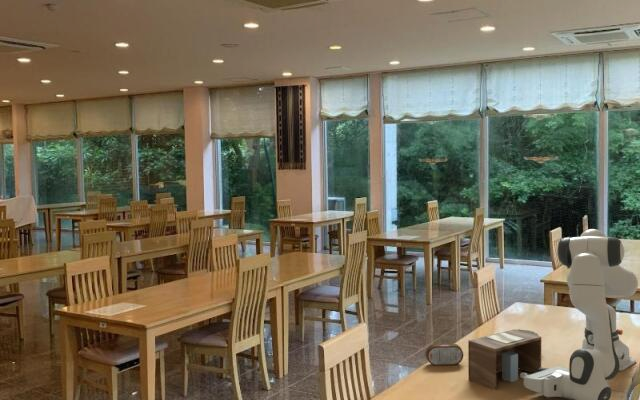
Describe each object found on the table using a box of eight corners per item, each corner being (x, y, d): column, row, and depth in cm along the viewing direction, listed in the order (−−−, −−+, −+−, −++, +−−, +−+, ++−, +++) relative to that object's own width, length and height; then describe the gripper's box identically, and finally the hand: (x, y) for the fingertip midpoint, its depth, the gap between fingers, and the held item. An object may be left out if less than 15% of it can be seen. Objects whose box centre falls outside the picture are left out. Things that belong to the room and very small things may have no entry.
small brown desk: (514, 366, 252) (514, 328, 251) (541, 375, 242) (541, 335, 241) (468, 379, 239) (468, 339, 238) (494, 389, 228) (494, 348, 227)
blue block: (509, 376, 241) (509, 351, 240) (517, 379, 238) (518, 353, 237) (502, 378, 239) (502, 352, 238) (510, 382, 235) (510, 355, 235)
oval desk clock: (462, 362, 258) (462, 342, 257) (464, 365, 255) (464, 344, 254) (425, 364, 257) (425, 343, 257) (427, 366, 254) (426, 346, 254)
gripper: (581, 368, 224) (548, 357, 235) (544, 380, 213) (511, 369, 224) (581, 385, 224) (548, 374, 236) (544, 398, 213) (511, 386, 225)
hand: (530, 371), depth 230 cm, fingers open, 8 cm apart
